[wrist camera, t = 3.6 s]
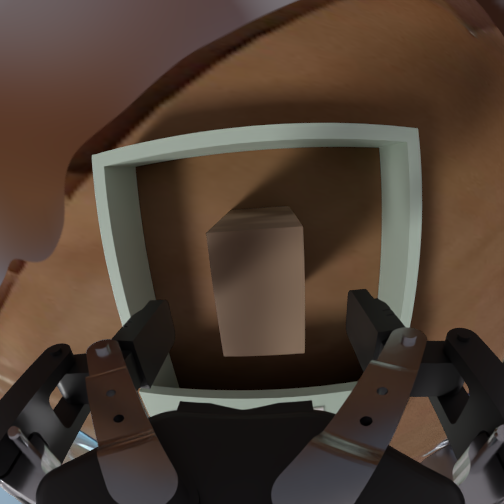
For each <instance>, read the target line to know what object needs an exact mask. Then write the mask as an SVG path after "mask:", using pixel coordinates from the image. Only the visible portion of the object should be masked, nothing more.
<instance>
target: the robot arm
mask: <svg viewBox="0 0 504 504" xmlns="http://www.w3.org/2000/svg"><path fill="white" fill-rule="evenodd" d="M346 331H347V335H348V338H349V340H350V342H351V345H352V347H353V349H354V351H355V354H356V356H357V358H358V361H359V363H360V365H361V368H362V370H363V372H364V373H363V374H362V376H361V378H360V379H359V381H358V382H357V384H356V385H355V387H354V388H353V390H352V391H351V393H350V395H349V396H348V397H347V399H346V400H345V402H344V403H343V405H342V406H341V408H340V409H339V410H338V412H337V413H336V414H334V413H331V412H327V411H322V410H315V409H313V404H312V400H308V401H297V402H282V403H275V404H271V405H266V406H262V407H257V408H252V409H246V410H241V409H235V408H231V407H226V406H221V405H217V404H212V403H199V402H185V401H180V402H179V405H178V408H177V410H172V411H167V412H163V413H159V414H157V415H154V416H152V417H150V418H149V417H148V414H147V412H146V410H145V408H144V406H143V403H142V401H141V399H140V397H139V394H138V392H137V391H138V389H139V388H144V389H150V388H151V386H152V384H153V382H154V380H155V378H156V377H157V375H158V373H159V371H160V369H161V367H162V365H163V363H164V361H165V359H166V357H167V355H168V353H169V351H170V349H171V347H172V345H173V343H174V340H175V330H174V326H173V321H172V317H171V313H170V308H169V304H168V302H167V301H166V300H150V301H149V302H148V303H147V304H146V305H145V307H144V308H143V309H142V310H140V311H138V312H137V313H135V314H134V315H132V316H131V317H130V318H129V320H128V321H127V322H126V323H125V324H124V325H123V327H122V328H121V329H120V330H119V331H118V332H117V333H116V335H115V336H114V337H113V338H112V339H106V340H100V341H98V342H95V343H93V344H92V345H91V346H89V348H88V349H87V351H86V354H75V355H73V353H72V351H71V348H70V346H69V345H67V344H56V345H53V346H51V347H49V348H48V349H46V350H45V351H44V352H43V353H42V354H41V355H40V356H39V357H38V359H37V360H36V361H35V362H34V363H33V364H32V365H31V366H30V367H29V368H28V369H27V370H26V371H25V372H24V374H23V375H22V376H21V377H20V378H19V379H18V380H17V381H16V382H15V384H14V385H13V386H12V387H11V388H10V389H9V390H8V392H7V393H6V394H5V395H4V396H3V397H2V399H1V400H0V486H1V487H2V488H3V489H4V490H5V491H6V492H8V493H9V494H10V495H12V496H14V497H15V498H16V499H17V500H18V501H20V502H21V503H22V504H504V364H503V363H502V362H501V361H500V360H499V359H498V357H497V356H496V355H495V354H494V353H493V352H492V351H491V349H490V348H489V347H488V346H487V345H486V344H485V343H484V342H483V341H482V340H481V339H480V337H479V336H478V335H477V334H476V333H474V332H473V331H471V330H468V329H465V328H455V329H452V330H450V331H449V332H448V333H447V336H446V340H445V341H427V337H426V335H425V334H424V333H423V332H421V331H420V330H418V329H415V328H409V327H405V326H404V324H403V323H402V322H401V321H400V319H399V318H398V317H397V316H396V315H395V313H394V312H393V311H392V310H391V308H390V307H389V306H388V305H387V304H386V303H385V302H383V301H381V300H380V299H378V298H376V299H374V298H373V297H372V296H371V295H370V293H369V292H368V291H367V290H366V289H359V290H350V291H349V292H348V301H347V316H346ZM464 381H465V383H466V384H467V386H468V388H469V395H468V394H467V392H466V391H465V389H464V387H463V383H464ZM56 386H57V387H58V388H59V390H60V392H61V394H62V395H63V397H62V398H61V400H60V401H59V402H58V404H57V405H56V407H55V408H54V410H53V409H52V408H51V406H50V403H49V397H50V394H51V393H52V391H53V390H54V389H55V387H56ZM409 397H429V399H430V401H431V403H432V406H433V408H434V410H435V412H436V414H437V416H438V418H439V420H440V422H441V424H442V427H443V429H444V431H445V433H446V436H447V438H448V440H449V442H450V445H449V446H446V447H444V448H442V449H440V450H438V451H436V452H435V453H433V454H432V455H430V456H429V457H427V458H426V459H425V460H423V461H422V462H421V463H419V462H417V461H415V460H413V459H412V458H410V457H408V456H406V455H405V454H403V453H401V452H399V451H398V450H396V449H394V448H393V447H391V446H389V444H390V442H391V439H392V437H393V435H394V433H395V431H396V429H397V426H398V424H399V422H400V419H401V417H402V415H403V412H404V410H405V407H406V405H407V402H408V400H409ZM90 411H91V416H92V421H93V426H94V430H95V434H96V438H97V442H98V447H97V448H95V449H93V450H91V451H89V452H87V453H85V454H83V455H81V456H79V457H77V458H75V459H73V460H71V461H69V462H67V463H65V464H63V465H61V464H62V463H63V461H64V459H65V457H66V455H67V453H68V451H69V449H70V447H71V445H72V443H73V442H74V440H75V438H76V436H77V434H78V432H79V430H80V429H81V427H82V425H83V423H84V421H85V420H86V418H87V416H88V414H89V413H90Z"/></svg>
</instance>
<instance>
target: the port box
mask: <svg viewBox="0 0 504 504" xmlns="http://www.w3.org/2000/svg"><path fill="white" fill-rule="evenodd" d="M300 147H376V148H379V152H380V167H381V189H382V241H381V264H380V278H379V291H378V299H380V300H381V301H383V302H385V303H386V304H387V305H388V306H389V307H390V308H391V310H392V311H393V312H394V313H395V315H396V316H397V317H398V318H399V319H400V321H401V322H402V323H403V324H404V326H405V327H409V328H410V323H411V318H412V312H413V306H414V300H415V293H416V285H417V277H418V268H419V258H420V245H421V226H422V175H421V156H420V144H419V133H418V128H410V127H400V126H389V125H375V124H356V123H293V124H273V125H259V126H247V127H237V128H228V129H219V130H211V131H204V132H197V133H191V134H185V135H179V136H173V137H168V138H162V139H157V140H152V141H148V142H143V143H139V144H134V145H130V146H126V147H122V148H118V149H114V150H110V151H106V152H102V153H99V154H95V155H92V166H93V178H94V188H95V197H96V205H97V212H98V219H99V226H100V232H101V238H102V243H103V248H104V254H105V259H106V263H107V268H108V273H109V277H110V281H111V285H112V289H113V293H114V297H115V301H116V305H117V308H118V312H119V316H120V319H121V322H122V326H123V325H124V324H125V323H126V322H127V321H128V320H129V318H130V317H131V316H132V315H134V314H135V313H137V312H138V311H140V310H142V309H143V308H144V307H145V305H146V304H147V303H148V302H149V301H150V300H156V298H155V294H154V289H153V284H152V279H151V274H150V269H149V263H148V258H147V252H146V246H145V240H144V234H143V227H142V220H141V213H140V205H139V197H138V188H137V178H136V167H137V166H142V165H147V164H153V163H158V162H164V161H170V160H176V159H183V158H190V157H197V156H204V155H212V154H221V153H230V152H240V151H251V150H264V149H279V148H300ZM357 382H358V381H356V382H349V383H342V384H334V385H325V386H316V387H305V388H292V389H275V390H201V389H184V388H179V385H178V381H177V378H176V375H175V372H174V368H173V365H172V361H171V358H170V354H169V353H168V355H167V357H166V359H165V361H164V363H163V365H162V367H161V369H160V371H159V373H158V375H157V377H156V378H155V380H154V382H153V384H152V386H151V388H150V389H144V388H141V389H140V391H139V393H140V395H141V397H142V400H143V402H144V404H145V406H146V408H147V411H148V413H149V415H150V417H152V416H154V415H157V414H159V413H163V412H167V411H172V410H177V408H178V405H179V402H180V401H185V402H199V403H212V404H217V405H221V406H226V407H231V408H235V409H241V410H246V409H252V408H257V407H262V406H266V405H271V404H275V403H282V402H297V401H308V400H312V404H313V409H315V410H322V411H327V412H331V413H334V414H336V413H337V412H338V410H339V409H340V408H341V406H342V405H343V403H344V402H345V400H346V399H347V397H348V396H349V395H350V393H351V391H352V390H353V388H354V387H355V385H356V384H357Z"/></svg>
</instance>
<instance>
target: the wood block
mask: <svg viewBox="0 0 504 504" xmlns="http://www.w3.org/2000/svg"><path fill="white" fill-rule="evenodd" d="M206 236H207V244H208V252H209V260H210V268H211V275H212V283H213V290H214V297H215V304H216V311H217V317H218V324H219V330H220V337H221V343H222V349H223V355H224V356H265V355H285V354H299V353H305V272H304V239H303V226H302V224H301V223H300V221H299V220H298V218H297V217H296V215H295V214H294V213H293V211H292V210H291V208H290V207H289V206H278V207H263V208H249V209H237V210H230V211H229V212H228V213H227V214H226V215H225V216H224V217H223V218H222V219H221V220H220V221H219V222H217V223H216V224H215V225H214V226H213V227H212V228H211V229H210V230H209V231H208V232H207V233H206Z"/></svg>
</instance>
